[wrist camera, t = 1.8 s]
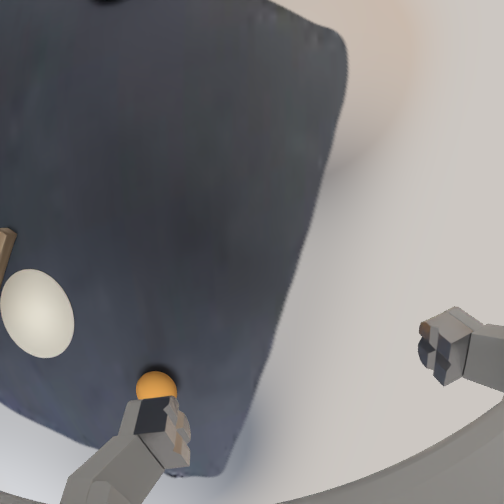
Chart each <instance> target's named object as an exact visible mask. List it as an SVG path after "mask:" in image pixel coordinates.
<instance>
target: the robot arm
mask: <svg viewBox="0 0 504 504" xmlns="http://www.w3.org/2000/svg"><path fill="white" fill-rule="evenodd" d="M419 334H420V335H421V336H422V338H421V340H420V342H419V344H418V353H419V357H420V360H421V362H422V363H423V364H424V366H425V367H426V368H428V369H432V370H434V373H433V376H434V377H435V378H436V379H437V380H438V381H439V382H440V383H441V384H442V385H443V386H446V385H448V384H450V383H452V382H453V381H455V380H457V379H459V378H461V377H463V378H466V379H468V380H471V381H473V382H476V383H479V384H482V385H484V386H487V387H490V388H493V389H495V390H498V391H501V392H504V326H499V325H492V324H486V325H483V324H482V323H480V322H479V321H478V320H476V319H475V318H474V317H472V316H470V315H469V314H468V313H466V312H465V311H463V310H462V309H461V308H459V307H455V306H454V307H452V308H450V309H448V310H447V311H444V312H443V313H441V314H439V315H437V316H435V317H432V318H430V319H428V320H426V321H424V322H421V325H420V327H419ZM178 409H179V403H178V401H177V400H176V398H175V397H174V396H172V395H171V396H164V397H156V398H148V399H141V400H131V401H129V402H128V403H127V406H126V409H125V412H124V416H123V419H122V423H121V426H120V430H119V433H118V436H114V437H112V438H111V439H110V440H109V441H108V442H107V443H106V444H105V445H104V446H103V447H102V448H100V449H99V450H98V451H97V452H96V453H95V454H94V455H93V456H92V457H91V458H89V459H88V460H87V461H86V462H85V463H84V464H83V465H82V466H81V467H80V468H79V469H77V470H76V471H75V472H74V473H73V474H72V475H70V476H69V477H68V480H67V483H66V486H65V489H64V492H63V495H62V499H61V502H60V504H141V503H142V502H143V501H144V499H145V498H146V496H147V495H148V494H149V492H150V491H151V489H152V488H153V486H154V485H155V484H156V482H157V481H158V479H159V478H160V476H161V475H162V474H163V472H164V471H165V470H164V469H171V468H180V467H188V466H189V465H190V449H189V448H188V446H187V444H188V442H189V441H190V440H191V432H190V426H189V423H188V420H187V418H186V416H185V414H184V413H183V412H181V411H179V410H178ZM0 504H46V503H41V502H37V501H33V500H29V499H26V498H22V497H19V496H15V495H12V494H8V493H5V492H2V491H0ZM277 504H504V396H503V399H502V401H501V402H500V403H498V404H497V405H496V406H494V407H493V408H491V409H490V410H489V411H487V412H486V413H484V414H483V415H482V416H480V417H479V418H478V419H476V420H474V421H473V422H471V423H470V424H468V425H467V426H465V427H463V428H462V429H460V430H459V431H457V432H455V433H454V434H452V435H450V436H449V437H447V438H445V439H444V440H442V441H440V442H438V443H437V444H435V445H433V446H431V447H429V448H427V449H425V450H424V451H422V452H420V453H418V454H416V455H414V456H412V457H410V458H408V459H406V460H403V461H401V462H399V463H397V464H395V465H393V466H390V467H389V468H386V469H384V470H381V471H379V472H376V473H374V474H371V475H369V476H367V477H364V478H361V479H359V480H356V481H354V482H351V483H348V484H345V485H342V486H339V487H336V488H333V489H330V490H326V491H323V492H320V493H316V494H313V495H309V496H306V497H302V498H298V499H294V500H290V501H286V502H281V503H277Z"/></svg>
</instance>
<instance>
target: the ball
mask: <svg viewBox="0 0 504 504" xmlns="http://www.w3.org/2000/svg"><path fill="white" fill-rule="evenodd" d="M136 394H137V397H138V399H139V400H141V399H148V398H156V397H164V396H171V395H172V396H174V397H175V398H176V397H177V388H176V385H175V383H174V381H173V380H172V379H171V378H170V377H169V376H168V375H167V374H165V373H163V372H159V371H151V372H148V373H146V374H144V375H143V376H142V377H141V378H140V379H139V380H138V383H137V386H136Z"/></svg>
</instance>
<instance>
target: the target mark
mask: <svg viewBox="0 0 504 504" xmlns="http://www.w3.org/2000/svg"><path fill="white" fill-rule="evenodd" d="M0 307H1V315H2V319H3V322H4V325H5V327H6V329H7V331H8V333H9V335H10V336H11V338H12V339H13V340H14V342H15V343H16V344H17V345H18V346H19V347H20V348H21V349H23V350H24V351H26V352H27V353H29V354H31V355H33V356H36V357H41V358H51V357H55V356H57V355H59V354H61V353H62V352H63V351H64V350H65V349H66V348H67V347H68V345H69V344H70V342H71V339H72V337H73V333H74V315H73V310H72V307H71V304H70V301H69V299H68V297H67V295H66V293H65V292H64V290H63V289H62V287H61V286H60V285H59V284H58V283H57V282H56V281H55V280H54V279H53V278H52V277H50V276H49V275H47V274H46V273H44V272H41V271H39V270H34V269H25V270H21V271H18V272H16V273H15V274H13V275H12V276H11V277H10V278H9V279H8V280H7V282H6V283H5V285H4V287H3V290H2V294H1V301H0Z"/></svg>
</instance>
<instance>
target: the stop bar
mask: <svg viewBox="0 0 504 504" xmlns="http://www.w3.org/2000/svg"><path fill="white" fill-rule="evenodd" d="M16 236H17V234H16V233H15V232H13V231H12V230H10V229H9V228H0V288H1V284H2V280H3V277H4V273H5V270H6V266H7V263H8V260H9V257H10V254H11V251H12V248H13V245H14V242H15V239H16Z"/></svg>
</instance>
